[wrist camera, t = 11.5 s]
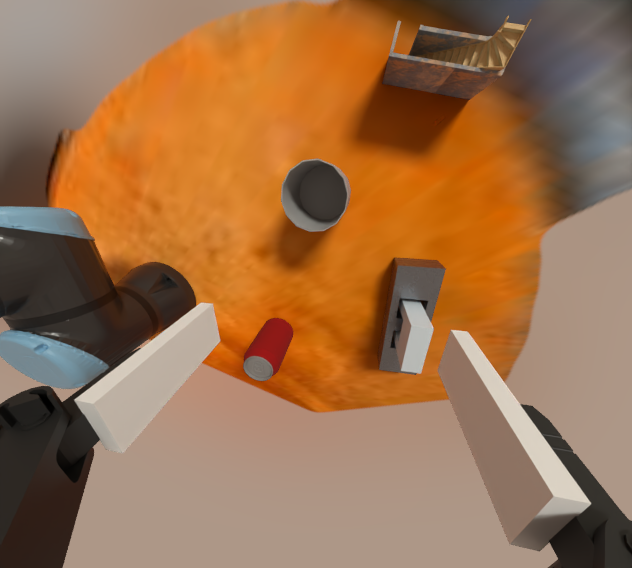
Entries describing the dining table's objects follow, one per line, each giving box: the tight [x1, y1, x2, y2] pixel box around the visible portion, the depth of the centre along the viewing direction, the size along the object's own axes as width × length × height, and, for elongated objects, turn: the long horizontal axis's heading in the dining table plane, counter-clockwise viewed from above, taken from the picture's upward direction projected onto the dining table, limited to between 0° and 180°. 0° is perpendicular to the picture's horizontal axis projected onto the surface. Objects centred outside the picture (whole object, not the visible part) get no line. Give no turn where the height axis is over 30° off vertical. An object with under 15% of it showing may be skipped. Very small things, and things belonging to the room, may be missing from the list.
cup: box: [281, 159, 351, 232], centre depth 32 cm, size 8×8×10 cm
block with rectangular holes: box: [378, 258, 446, 375], centre depth 41 cm, size 7×22×4 cm, turn 179°
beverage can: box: [243, 318, 293, 381], centre depth 44 cm, size 7×7×12 cm
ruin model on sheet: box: [382, 15, 531, 100], centre depth 24 cm, size 11×3×10 cm, turn 78°
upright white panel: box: [393, 298, 434, 374], centre depth 38 cm, size 9×3×10 cm, turn 179°
